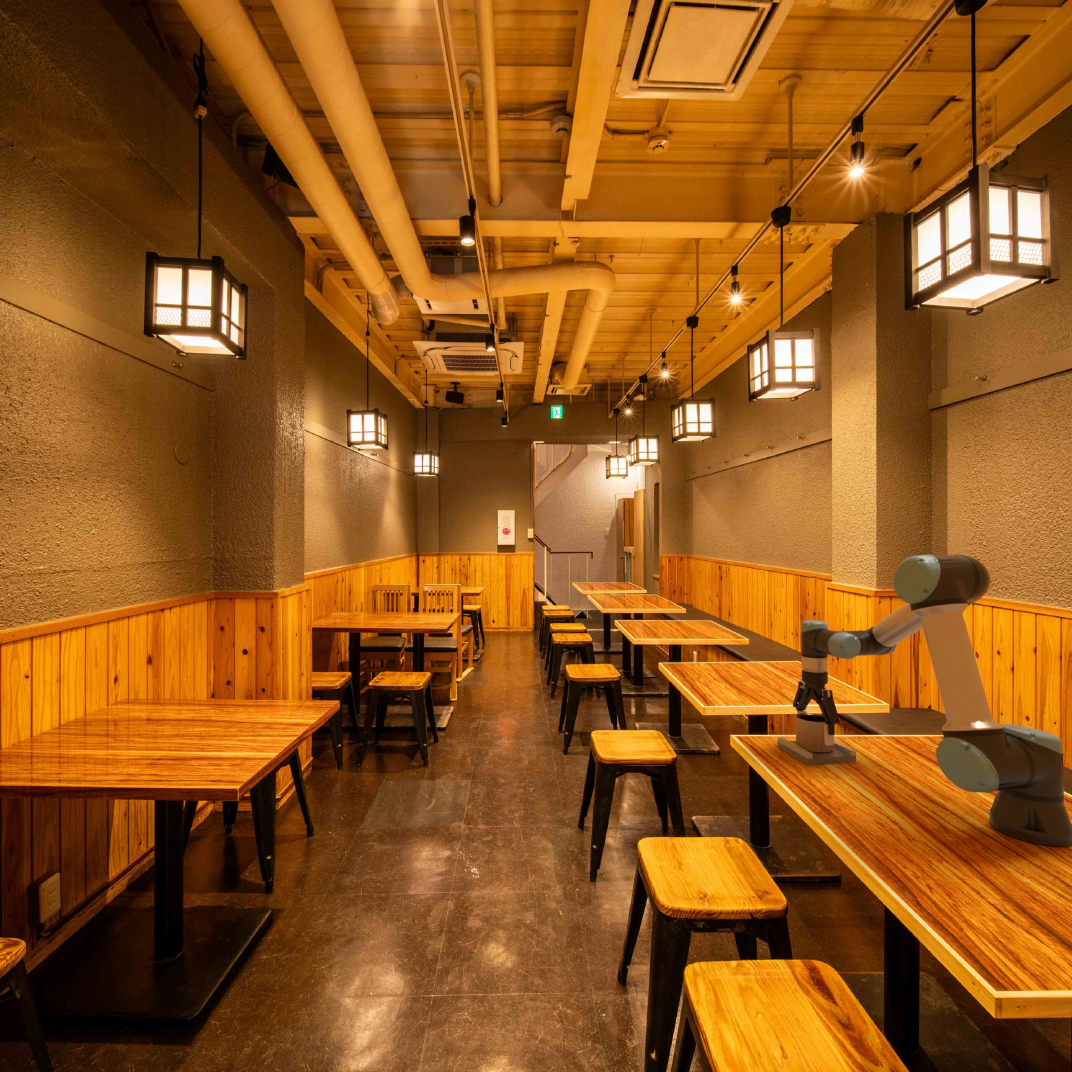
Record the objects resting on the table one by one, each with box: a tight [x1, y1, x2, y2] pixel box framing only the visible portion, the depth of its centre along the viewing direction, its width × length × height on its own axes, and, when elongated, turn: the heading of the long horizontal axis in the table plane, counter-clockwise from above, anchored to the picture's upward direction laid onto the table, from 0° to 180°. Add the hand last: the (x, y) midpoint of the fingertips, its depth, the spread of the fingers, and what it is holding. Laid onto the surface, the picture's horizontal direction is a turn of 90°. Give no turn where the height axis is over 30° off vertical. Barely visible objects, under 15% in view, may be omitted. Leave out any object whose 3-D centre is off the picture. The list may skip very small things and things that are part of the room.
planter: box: [795, 712, 834, 753], centre depth 186 cm, size 11×11×10 cm
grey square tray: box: [777, 736, 857, 766], centre depth 186 cm, size 16×16×3 cm
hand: (815, 738), depth 186 cm, fingers open, 13 cm apart
